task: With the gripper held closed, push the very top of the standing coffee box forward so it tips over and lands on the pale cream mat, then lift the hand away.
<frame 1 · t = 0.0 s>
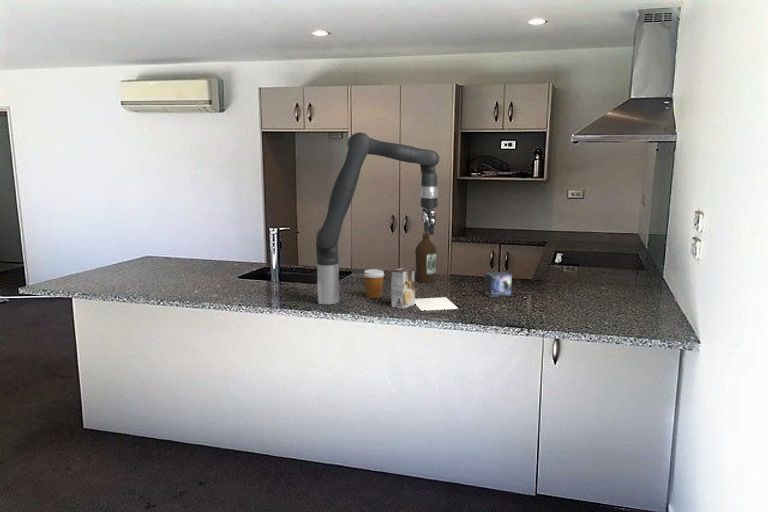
hand: (428, 233, 258), 29 cm above the counter, tool pointing down, fingers open, 8 cm apart
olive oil: (425, 281, 297), on the counter
mat: (433, 304, 252), on the counter
coffee box: (403, 306, 249), on the counter
disposable coffee cup: (374, 297, 264), on the counter
small box: (497, 296, 266), on the counter
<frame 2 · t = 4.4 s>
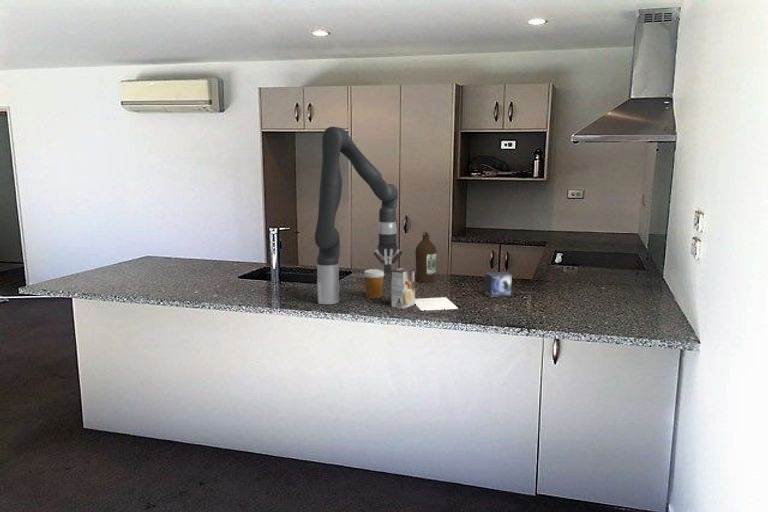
hand: (387, 272, 246), 15 cm above the counter, tool pointing down, fingers closed
coffee box: (403, 306, 249), on the counter, touching gripper
everything else where it was.
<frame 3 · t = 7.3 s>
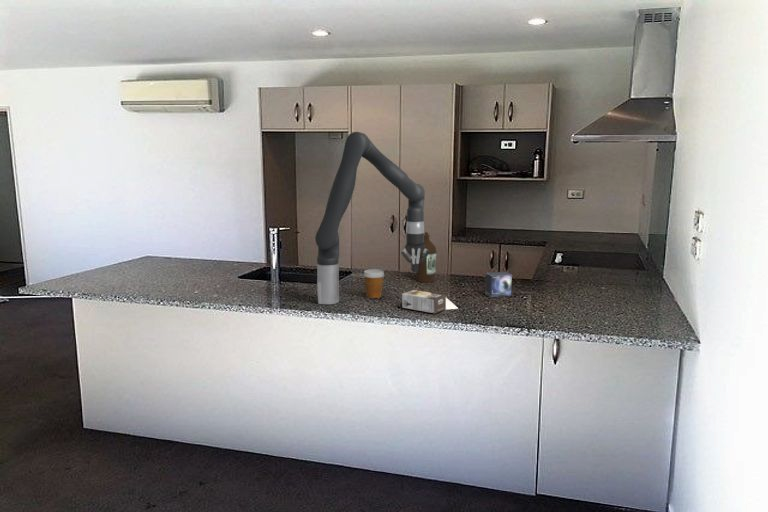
hand: (414, 272, 248), 15 cm above the counter, tool pointing down, fingers closed
coffee box: (407, 298, 247), point 4 cm above the counter, touching mat
everything else where it was.
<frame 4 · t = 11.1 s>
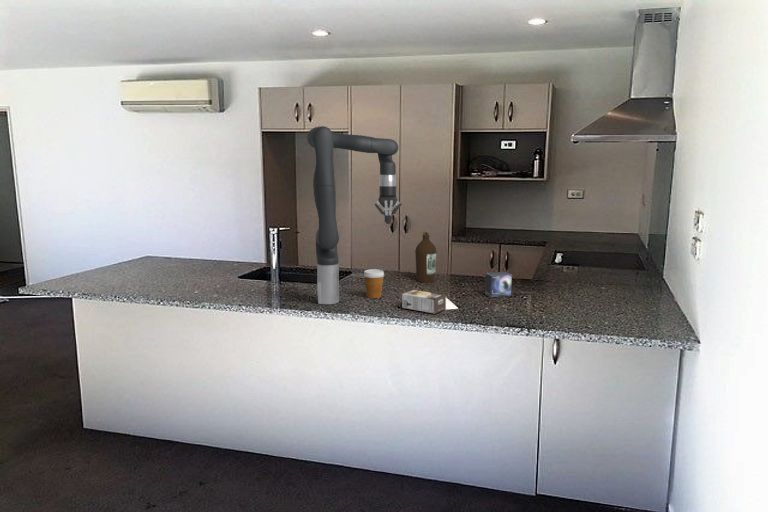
hand: (387, 223, 262), 33 cm above the counter, tool pointing down, fingers closed
nothing on the counter moved.
at the end: coffee box tilted 90°; coffee box touching mat; coffee box inside the target area (5.6 cm from its centre), point 3.6 cm above the counter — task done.
